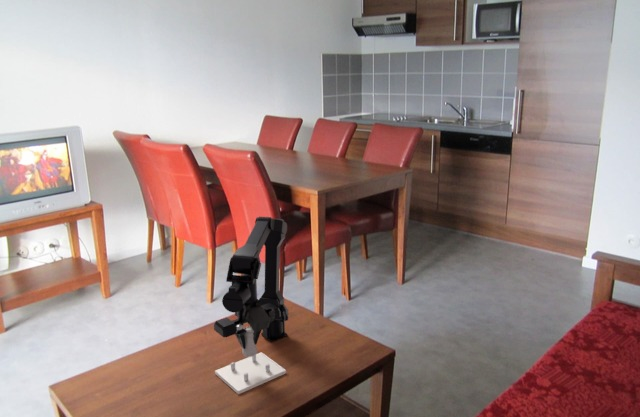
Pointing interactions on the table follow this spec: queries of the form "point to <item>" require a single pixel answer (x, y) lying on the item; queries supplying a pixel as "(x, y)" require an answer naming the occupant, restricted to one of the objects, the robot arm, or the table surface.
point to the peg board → (249, 372)
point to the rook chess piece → (249, 343)
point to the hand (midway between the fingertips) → (249, 346)
